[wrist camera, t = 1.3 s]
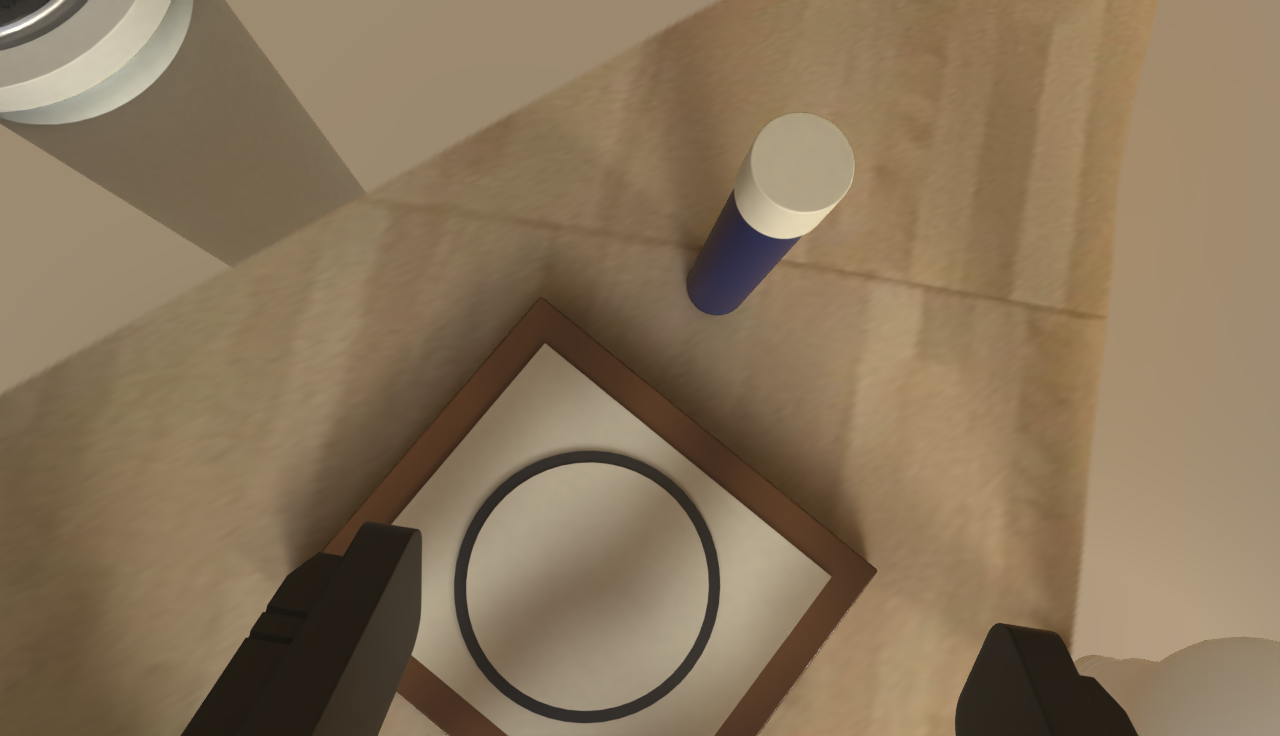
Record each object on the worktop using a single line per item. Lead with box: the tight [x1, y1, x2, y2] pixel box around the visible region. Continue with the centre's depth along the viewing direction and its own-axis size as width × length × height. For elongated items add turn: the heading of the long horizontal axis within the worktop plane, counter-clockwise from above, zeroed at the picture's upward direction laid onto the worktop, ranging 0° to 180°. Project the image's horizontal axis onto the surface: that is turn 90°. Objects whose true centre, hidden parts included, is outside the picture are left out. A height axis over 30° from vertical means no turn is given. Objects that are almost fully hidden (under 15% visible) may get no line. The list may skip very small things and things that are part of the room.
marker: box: [687, 112, 855, 315], centre depth 25 cm, size 2×2×12 cm
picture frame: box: [321, 297, 877, 736], centre depth 28 cm, size 15×13×1 cm
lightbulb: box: [1074, 637, 1280, 736], centre depth 24 cm, size 6×6×11 cm
